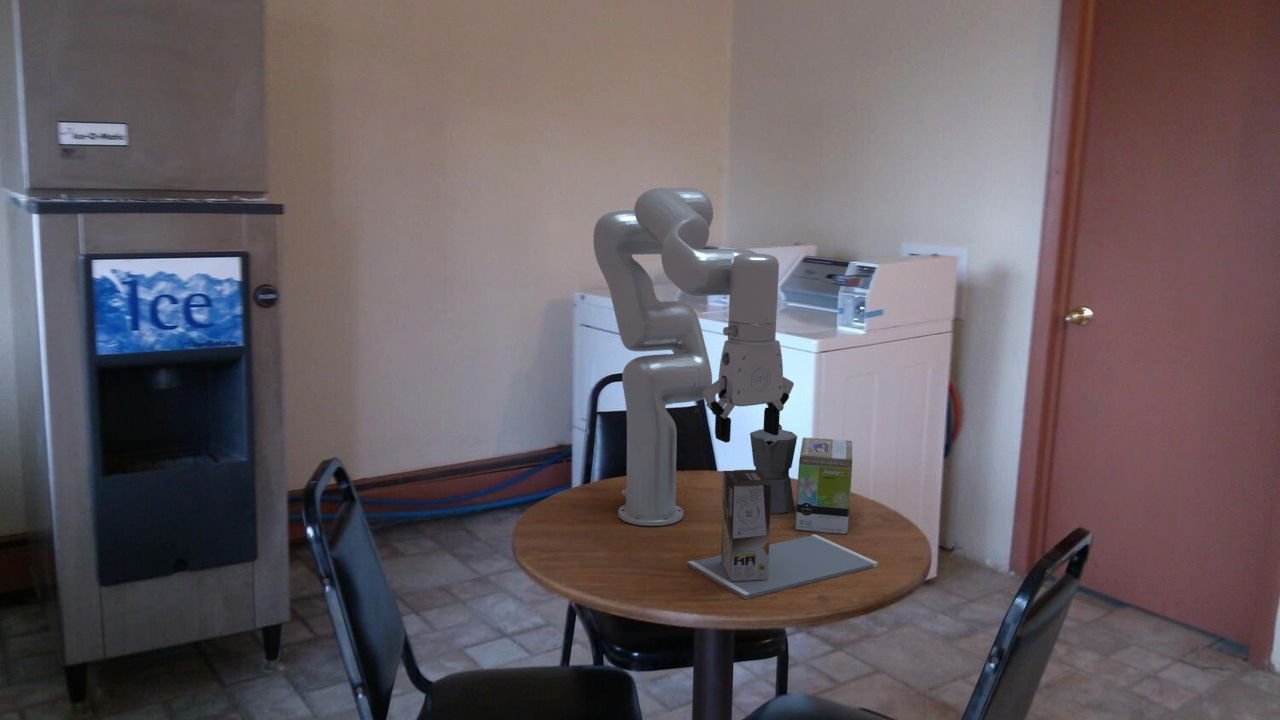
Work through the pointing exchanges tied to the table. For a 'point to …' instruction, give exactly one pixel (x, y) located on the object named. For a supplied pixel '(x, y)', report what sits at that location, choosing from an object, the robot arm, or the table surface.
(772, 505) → the coffeepot
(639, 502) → the robot arm
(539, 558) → the table surface
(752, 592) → the mat
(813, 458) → the tea box
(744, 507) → the coffee box
